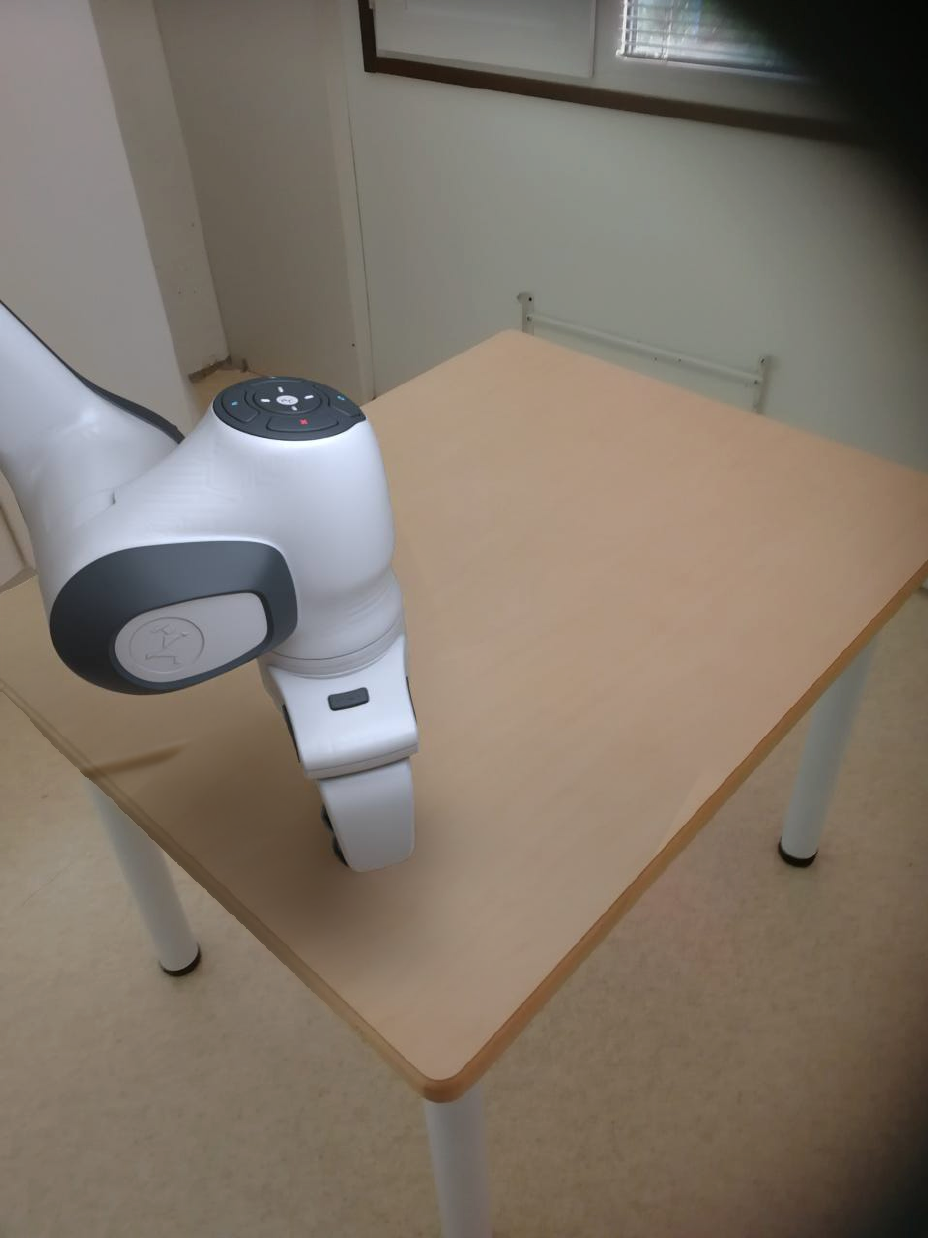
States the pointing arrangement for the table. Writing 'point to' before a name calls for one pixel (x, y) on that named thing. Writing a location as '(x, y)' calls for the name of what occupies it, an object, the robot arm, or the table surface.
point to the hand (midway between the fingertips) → (360, 793)
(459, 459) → the table surface
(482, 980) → the table surface
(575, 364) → the table surface
